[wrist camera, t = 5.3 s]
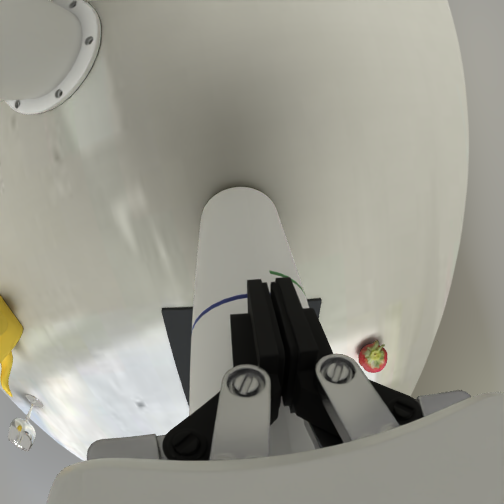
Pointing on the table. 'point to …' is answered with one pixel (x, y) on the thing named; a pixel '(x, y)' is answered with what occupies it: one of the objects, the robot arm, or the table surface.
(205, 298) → the cylindrical container
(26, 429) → the wineglass
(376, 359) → the fruit
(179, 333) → the mat
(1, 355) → the teapot
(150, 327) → the table surface
